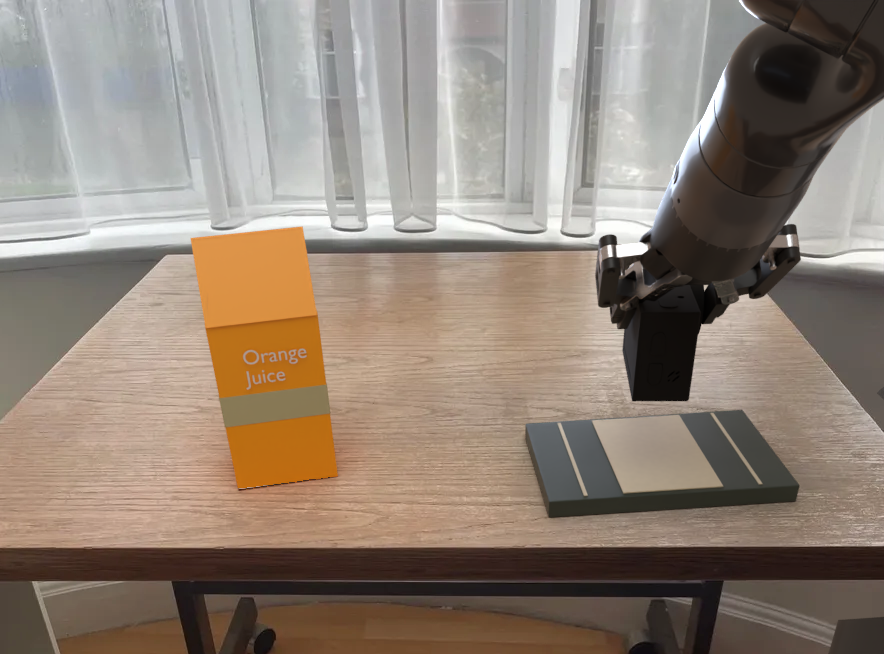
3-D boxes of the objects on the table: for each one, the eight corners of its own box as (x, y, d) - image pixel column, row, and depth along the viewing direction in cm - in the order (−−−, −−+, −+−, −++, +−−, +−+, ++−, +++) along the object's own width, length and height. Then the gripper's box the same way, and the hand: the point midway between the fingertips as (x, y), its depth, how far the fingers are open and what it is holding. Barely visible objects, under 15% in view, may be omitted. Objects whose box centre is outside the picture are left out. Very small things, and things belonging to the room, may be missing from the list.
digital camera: (705, 403, 68) (718, 311, 64) (632, 402, 68) (641, 311, 64) (687, 351, 76) (698, 266, 72) (622, 351, 77) (629, 267, 73)
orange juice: (234, 450, 83) (189, 225, 71) (328, 438, 85) (300, 214, 73) (237, 491, 77) (188, 252, 65) (339, 477, 79) (309, 239, 66)
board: (739, 424, 83) (742, 408, 82) (796, 501, 72) (800, 484, 71) (525, 437, 83) (525, 422, 82) (548, 517, 72) (549, 500, 71)
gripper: (622, 253, 54) (576, 366, 70) (859, 239, 54) (758, 355, 71) (610, 139, 55) (568, 276, 72) (843, 126, 55) (747, 266, 72)
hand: (662, 315), depth 71 cm, fingers closed on digital camera, 6 cm apart
